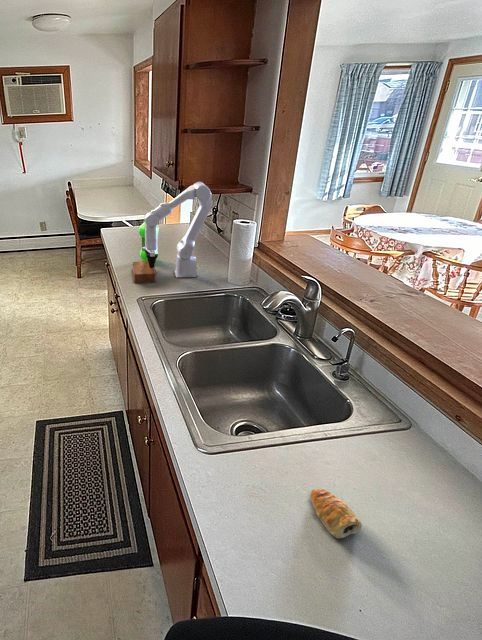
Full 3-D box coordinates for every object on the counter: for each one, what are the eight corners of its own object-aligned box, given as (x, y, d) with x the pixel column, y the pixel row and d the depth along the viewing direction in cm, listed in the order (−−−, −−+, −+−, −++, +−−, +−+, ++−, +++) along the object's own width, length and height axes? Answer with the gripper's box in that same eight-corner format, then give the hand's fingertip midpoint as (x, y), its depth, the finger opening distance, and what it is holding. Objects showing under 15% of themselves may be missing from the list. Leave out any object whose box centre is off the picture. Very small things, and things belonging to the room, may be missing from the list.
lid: (153, 262, 195) (153, 253, 193) (156, 274, 181) (156, 265, 179) (132, 263, 196) (132, 254, 194) (134, 275, 181) (134, 265, 179)
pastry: (300, 499, 81) (303, 486, 80) (326, 490, 83) (330, 477, 81) (335, 543, 73) (339, 530, 72) (364, 532, 75) (369, 519, 73)
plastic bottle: (136, 258, 211) (135, 213, 201) (154, 256, 214) (154, 211, 204) (143, 265, 202) (143, 218, 192) (162, 262, 205) (162, 215, 195)
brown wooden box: (151, 269, 197) (151, 262, 195) (154, 282, 183) (154, 274, 181) (132, 270, 197) (132, 263, 196) (134, 282, 183) (134, 275, 181)
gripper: (141, 234, 189) (141, 260, 194) (143, 243, 176) (144, 271, 181) (156, 233, 189) (156, 259, 194) (159, 243, 175) (159, 270, 181)
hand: (151, 265), depth 188 cm, fingers closed on lid, 5 cm apart
